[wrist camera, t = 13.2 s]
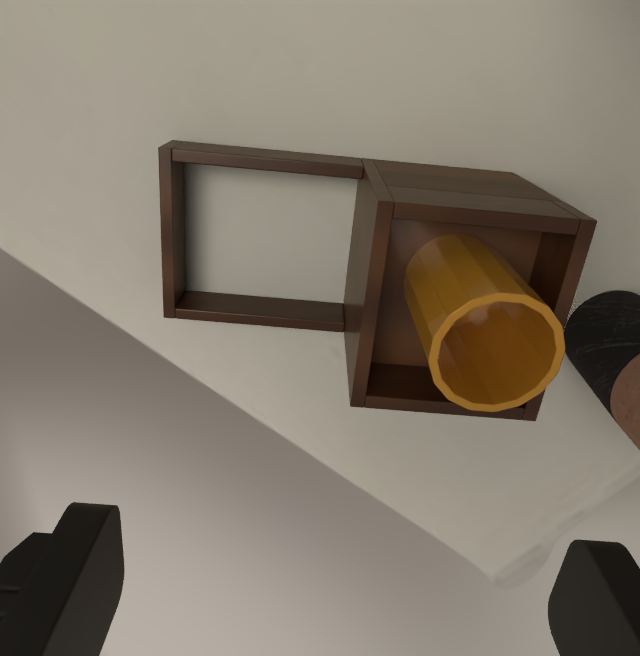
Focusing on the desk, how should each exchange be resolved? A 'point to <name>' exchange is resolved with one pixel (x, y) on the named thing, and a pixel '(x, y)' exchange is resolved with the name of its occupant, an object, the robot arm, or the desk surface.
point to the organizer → (387, 260)
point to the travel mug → (609, 354)
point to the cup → (480, 325)
